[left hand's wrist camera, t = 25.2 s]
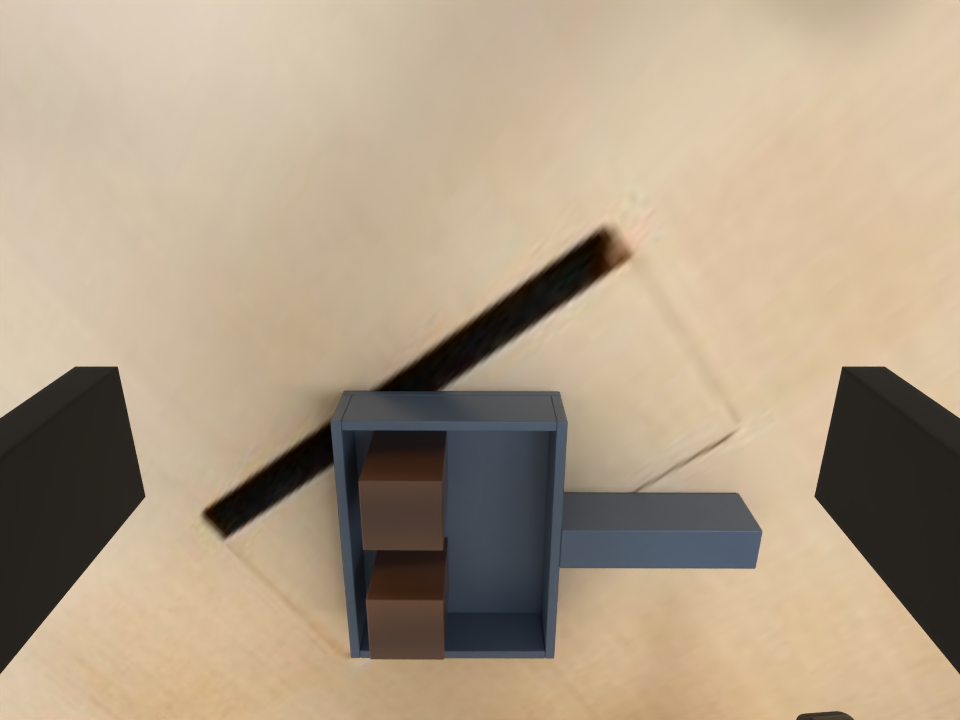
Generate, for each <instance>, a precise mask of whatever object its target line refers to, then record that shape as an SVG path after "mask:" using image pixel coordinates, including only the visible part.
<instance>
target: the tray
mask: <svg viewBox="0 0 960 720" xmlns="http://www.w3.org/2000/svg"><path fill="white" fill-rule="evenodd" d="M567 424H568V422H567V419H566V415H565V411H564V407H563V403H562V399H561V395H560V392H457V391H344V393H343V395H342V397H341V400H340V402H339V404H338V406H337V408H336V411H335V413H334V415H333V417H332V420H331V433H332V444H333V456H334V467H335V479H336V490H337V501H338V513H339V524H340V536H341V547H342V559H343V570H344V582H345V593H346V605H347V616H348V628H349V639H350V650H351V658H360V657H361V658H370V651H369V636H368V622H367V608H366V598H367V594H368V589H369V585H370V580H371V576H372V571H373V567H374V562H375V558H376V553H377V550H363V540H362V526H361V511H360V497H359V483H358V481H359V478H360V475H361V472H362V468H363V465H364V462H365V459H366V456H367V452H368V449H369V446H370V443H371V439H372V436H373V433H374V430H388V431H447V439H448V500H447V512H446V525H445V538H448V570H449V596H448V612H447V628H446V644H445V658H554V650H555V633H556V615H557V598H558V581H559V567H560V568H741V569H754V568H756V563H757V557H758V552H759V547H760V541H761V536H762V530H761V528H760V526H759V525H758V523H757V522H756V520H755V519H754V517H753V515H752V514H751V512H750V511H749V509H748V508H747V506H746V504H745V503H744V501H743V500H742V498H741V497H740V495H739V494H738V493H564V476H565V458H566V441H567Z"/></svg>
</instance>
